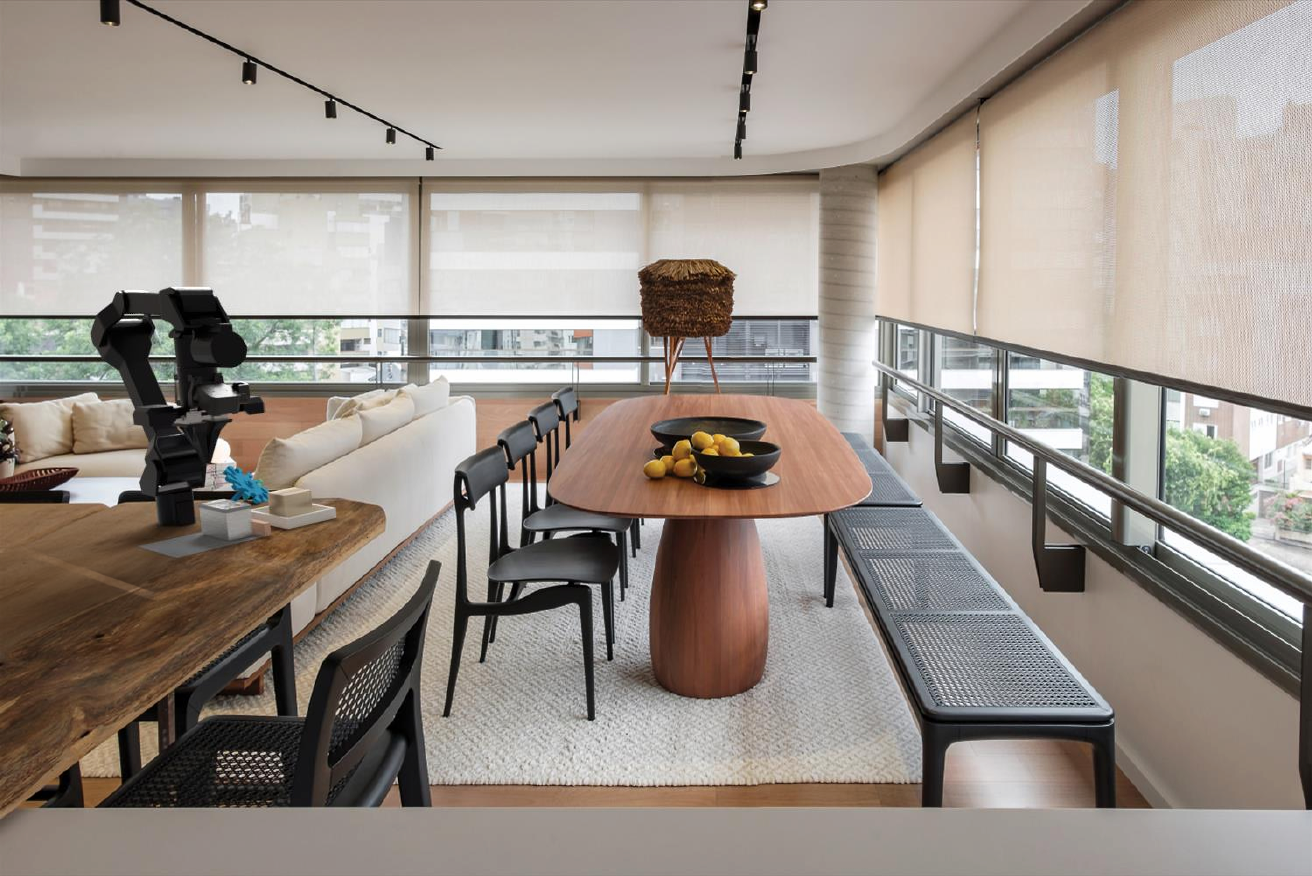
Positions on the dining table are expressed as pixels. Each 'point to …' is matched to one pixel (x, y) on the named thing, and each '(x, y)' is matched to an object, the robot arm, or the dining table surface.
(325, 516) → the tray
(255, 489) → the blue toy piece
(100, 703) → the dining table surface
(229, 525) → the grey square block
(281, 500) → the block
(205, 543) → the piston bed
